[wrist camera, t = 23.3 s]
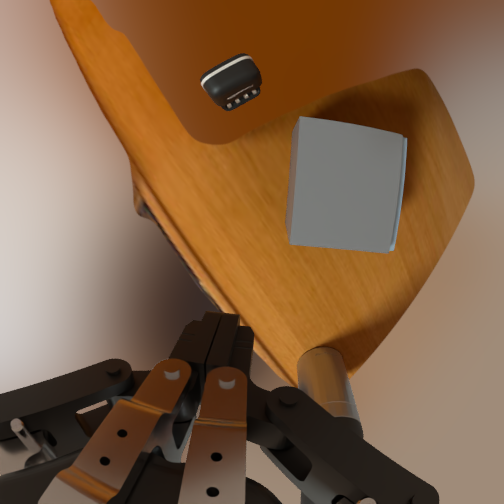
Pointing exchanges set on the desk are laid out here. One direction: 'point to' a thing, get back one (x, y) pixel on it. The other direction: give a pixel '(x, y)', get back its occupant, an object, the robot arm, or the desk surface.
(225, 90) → the battery charger
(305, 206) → the cabinet
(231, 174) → the desk surface
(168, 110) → the desk surface
